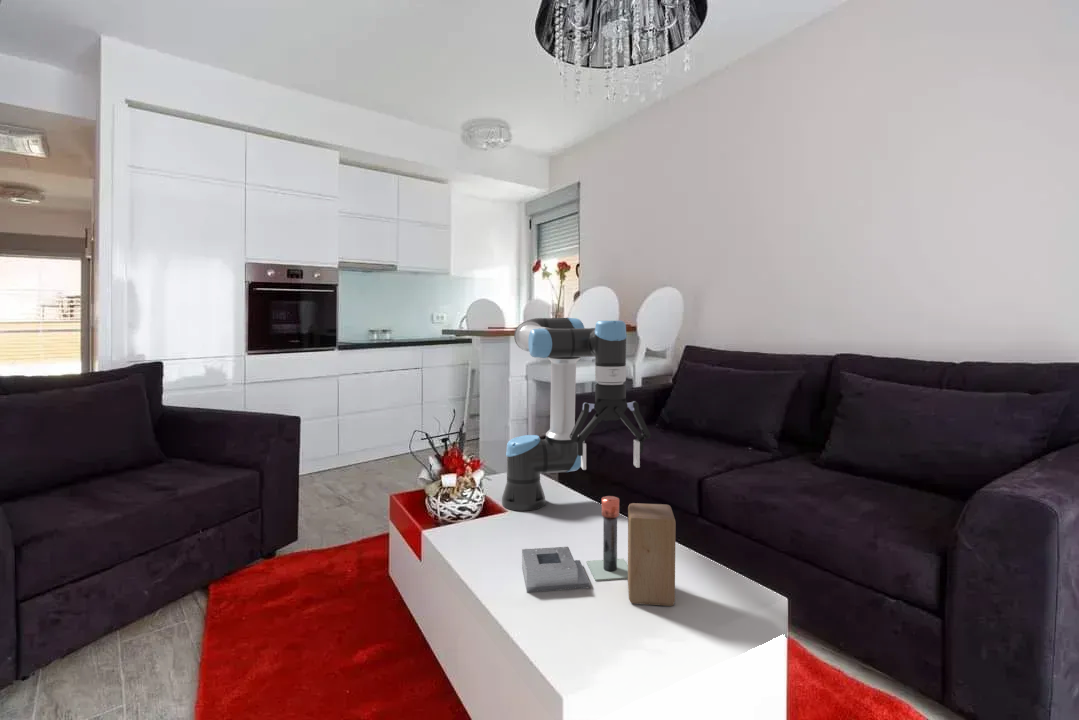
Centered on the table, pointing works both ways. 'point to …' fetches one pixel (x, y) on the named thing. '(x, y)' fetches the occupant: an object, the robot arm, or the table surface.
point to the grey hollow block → (552, 570)
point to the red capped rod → (610, 532)
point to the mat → (602, 575)
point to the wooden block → (651, 554)
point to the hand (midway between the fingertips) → (610, 467)
